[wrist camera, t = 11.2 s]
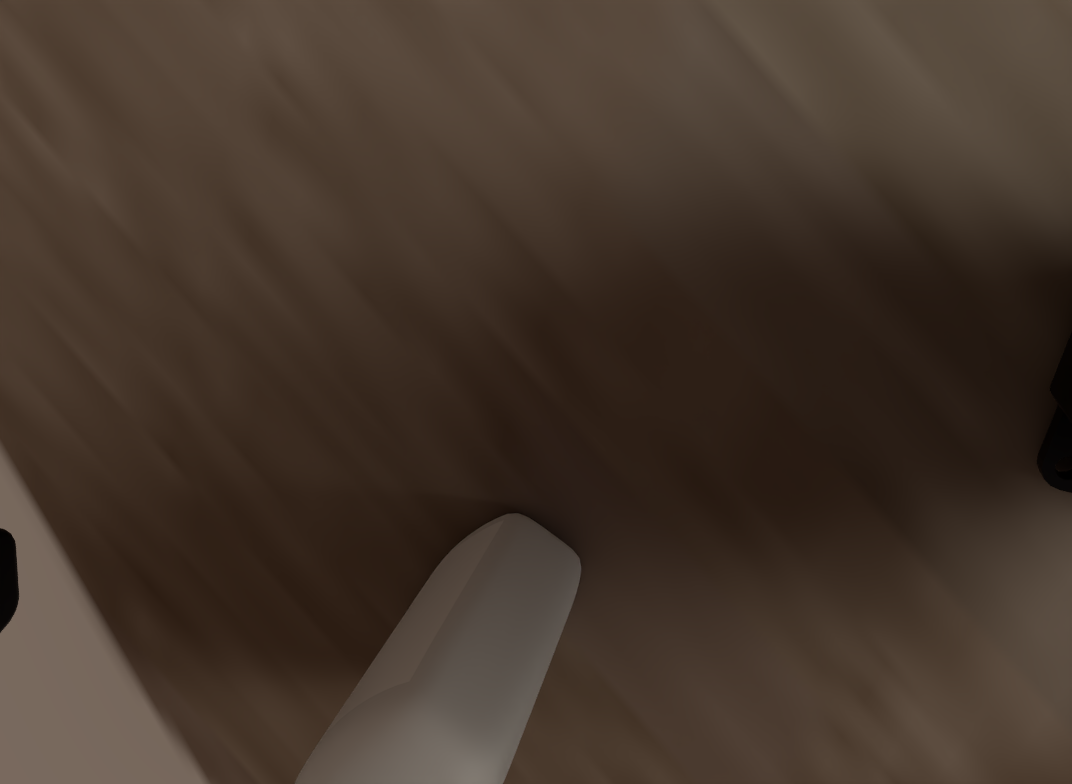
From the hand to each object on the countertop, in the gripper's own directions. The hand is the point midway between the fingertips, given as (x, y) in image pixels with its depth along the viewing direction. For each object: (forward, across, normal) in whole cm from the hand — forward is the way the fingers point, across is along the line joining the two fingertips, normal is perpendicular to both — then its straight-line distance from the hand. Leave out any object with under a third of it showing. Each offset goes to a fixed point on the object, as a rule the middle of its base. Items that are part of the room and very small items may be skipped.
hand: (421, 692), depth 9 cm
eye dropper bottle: (+13, +2, +8) cm, 16 cm away
